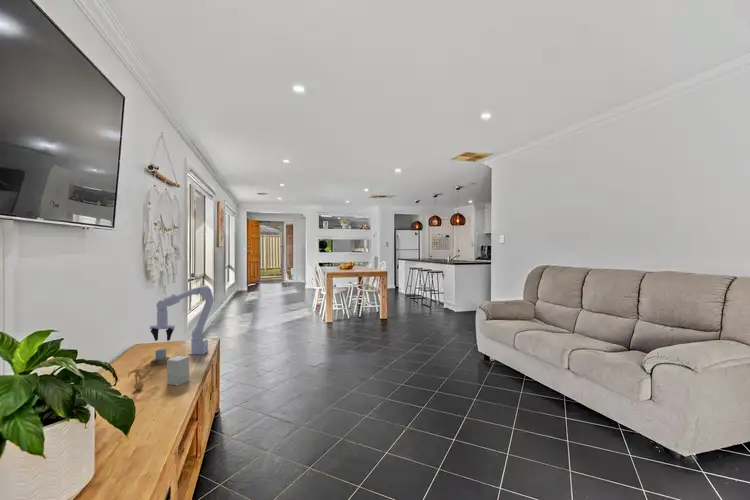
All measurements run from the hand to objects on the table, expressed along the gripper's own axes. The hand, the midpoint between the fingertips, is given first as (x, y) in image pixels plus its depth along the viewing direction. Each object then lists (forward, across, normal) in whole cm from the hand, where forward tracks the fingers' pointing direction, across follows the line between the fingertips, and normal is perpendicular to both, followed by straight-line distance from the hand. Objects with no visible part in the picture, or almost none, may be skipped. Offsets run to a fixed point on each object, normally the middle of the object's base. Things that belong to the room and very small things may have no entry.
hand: (162, 340), depth 225 cm
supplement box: (+11, +32, -42) cm, 54 cm away
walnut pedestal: (+11, +6, -12) cm, 17 cm away
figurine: (+11, +18, -52) cm, 56 cm away
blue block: (+8, +6, -11) cm, 15 cm away
